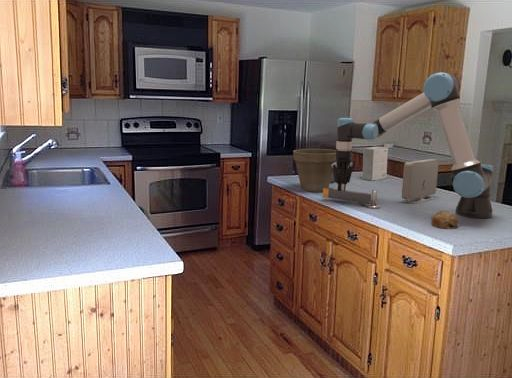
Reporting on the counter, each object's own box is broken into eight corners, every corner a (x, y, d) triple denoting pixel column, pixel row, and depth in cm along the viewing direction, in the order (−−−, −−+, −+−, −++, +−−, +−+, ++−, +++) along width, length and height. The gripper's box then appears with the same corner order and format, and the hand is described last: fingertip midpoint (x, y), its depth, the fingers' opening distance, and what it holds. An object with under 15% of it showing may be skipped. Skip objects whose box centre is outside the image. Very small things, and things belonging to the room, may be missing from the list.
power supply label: (375, 204, 228) (375, 202, 228) (361, 204, 227) (361, 203, 227) (368, 200, 236) (368, 199, 236) (355, 200, 235) (355, 199, 235)
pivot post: (382, 208, 220) (383, 191, 218) (370, 208, 219) (371, 192, 217) (376, 205, 225) (378, 189, 224) (365, 205, 224) (366, 189, 223)
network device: (411, 204, 228) (415, 164, 224) (396, 201, 235) (399, 162, 231) (439, 198, 244) (443, 160, 240) (424, 195, 251) (427, 158, 247)
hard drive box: (376, 176, 305) (378, 146, 301) (386, 178, 299) (388, 147, 295) (361, 179, 295) (363, 147, 291) (371, 181, 289) (373, 149, 285)
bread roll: (437, 237, 189) (444, 222, 184) (424, 220, 197) (430, 206, 192) (458, 235, 191) (465, 220, 187) (444, 219, 199) (451, 204, 195)
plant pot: (282, 188, 263) (283, 150, 258) (312, 183, 279) (313, 147, 274) (316, 196, 244) (318, 154, 240) (345, 190, 261) (347, 151, 256)
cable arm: (370, 202, 224) (371, 193, 223) (368, 203, 221) (369, 194, 221) (325, 196, 237) (325, 187, 236) (322, 197, 235) (323, 188, 234)
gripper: (350, 148, 235) (347, 194, 240) (328, 149, 230) (325, 196, 235) (359, 150, 229) (356, 197, 234) (336, 151, 223) (334, 199, 228)
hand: (341, 196), depth 234 cm, fingers closed
